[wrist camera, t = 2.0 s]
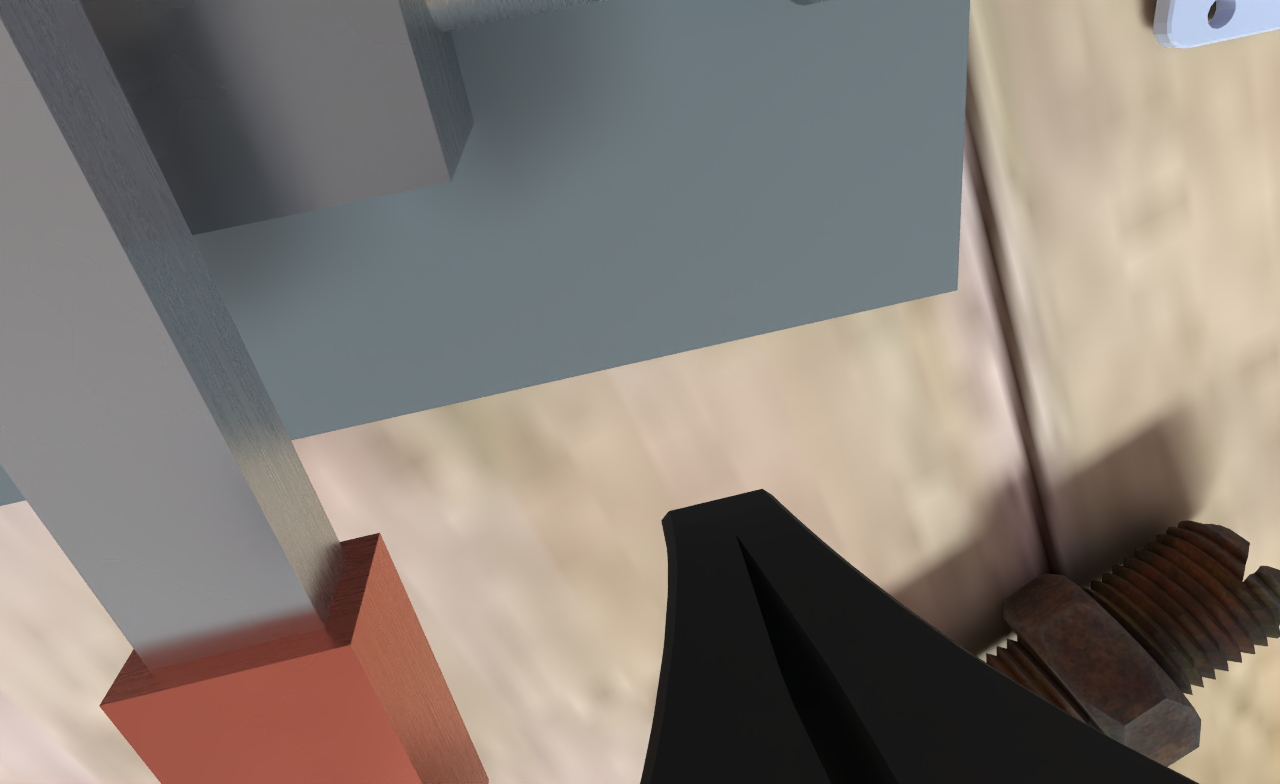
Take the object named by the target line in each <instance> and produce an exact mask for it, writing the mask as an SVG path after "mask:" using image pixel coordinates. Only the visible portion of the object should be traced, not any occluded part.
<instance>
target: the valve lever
mask: <svg viewBox="0 0 1280 784" xmlns="http://www.w3.org/2000/svg"><path fill="white" fill-rule="evenodd" d="M0 464H1V466H2V467H3V469H4V470H5V471H6V473H7V474H8V475H9V477H10V478H11V480H12V481H13V482H14V484H15V485H16V487H17V488H18V489H19V491H20V492H21V493H22V495H23V496H24V498H25V499H26V500H27V502H28V503H29V505H30V506H31V507H32V509H33V510H34V511H35V513H36V514H37V516H38V517H39V518H40V520H41V521H42V522H43V524H44V525H45V527H46V528H47V529H48V531H49V532H50V534H51V535H52V536H53V538H54V539H55V540H56V542H57V543H58V545H59V546H60V547H61V549H62V550H63V551H64V553H65V554H66V556H67V557H68V558H69V560H70V561H71V563H72V564H73V565H74V567H75V568H76V569H77V571H78V572H79V574H80V575H81V576H82V578H83V579H84V581H85V582H86V583H87V585H88V586H89V587H90V589H91V590H92V592H93V593H94V594H95V596H96V597H97V598H98V600H99V601H100V603H101V604H102V605H103V607H104V608H105V610H106V611H107V612H108V614H109V615H110V616H111V618H112V619H113V621H114V622H115V623H116V625H117V626H118V628H119V629H120V630H121V632H122V633H123V634H124V636H125V637H126V639H127V640H128V641H129V643H130V644H131V645H132V647H133V648H134V650H133V651H132V653H131V655H130V656H129V658H128V660H127V661H126V663H125V664H124V666H123V668H122V669H121V671H120V673H119V674H118V676H117V678H116V679H115V681H114V683H113V684H112V686H111V688H110V689H109V691H108V692H107V694H106V696H105V697H104V699H103V701H102V702H101V704H100V707H101V709H102V710H103V711H104V712H105V714H106V715H107V716H108V717H109V719H110V720H111V721H112V722H113V724H114V725H115V726H116V727H117V729H118V730H119V731H120V732H121V734H122V735H123V736H124V737H125V739H126V740H127V741H128V742H129V744H130V745H131V746H132V747H133V749H134V750H135V751H136V752H137V754H138V755H139V756H140V757H141V759H142V760H143V761H144V762H145V764H146V765H147V766H148V767H149V769H150V770H151V771H152V772H153V774H154V775H155V776H156V777H157V779H158V780H159V781H160V782H161V784H489V779H488V777H487V774H486V772H485V770H484V768H483V765H482V763H481V761H480V759H479V756H478V754H477V752H476V750H475V747H474V745H473V743H472V740H471V738H470V736H469V734H468V731H467V729H466V727H465V725H464V722H463V720H462V718H461V716H460V713H459V711H458V709H457V706H456V704H455V702H454V700H453V697H452V695H451V693H450V691H449V688H448V686H447V684H446V682H445V679H444V677H443V675H442V672H441V670H440V668H439V666H438V663H437V661H436V659H435V657H434V654H433V652H432V650H431V648H430V645H429V643H428V641H427V638H426V636H425V634H424V632H423V629H422V627H421V625H420V623H419V620H418V618H417V616H416V614H415V611H414V609H413V607H412V604H411V602H410V600H409V598H408V595H407V593H406V591H405V589H404V586H403V584H402V582H401V580H400V577H399V575H398V573H397V570H396V568H395V566H394V564H393V561H392V559H391V557H390V555H389V552H388V550H387V548H386V546H385V543H384V541H383V539H382V536H381V534H380V533H377V534H373V535H368V536H364V537H360V538H356V539H351V540H347V541H343V542H339V540H338V538H337V536H336V534H335V532H334V530H333V528H332V526H331V524H330V521H329V519H328V517H327V515H326V513H325V511H324V509H323V507H322V505H321V503H320V501H319V498H318V496H317V494H316V492H315V490H314V488H313V486H312V484H311V482H310V480H309V478H308V476H307V473H306V471H305V469H304V467H303V465H302V463H301V461H300V459H299V457H298V455H297V453H296V451H295V448H294V446H293V444H292V442H291V440H290V438H289V436H288V434H287V432H286V430H285V428H284V426H283V423H282V421H281V419H280V417H279V415H278V413H277V411H276V409H275V407H274V405H273V403H272V401H271V398H270V396H269V394H268V392H267V390H266V388H265V386H264V384H263V382H262V380H261V378H260V375H259V373H258V371H257V369H256V367H255V365H254V363H253V361H252V359H251V357H250V355H249V353H248V350H247V348H246V346H245V344H244V342H243V340H242V338H241V336H240V334H239V332H238V330H237V328H236V325H235V323H234V321H233V319H232V317H231V315H230V313H229V311H228V309H227V307H226V305H225V303H224V300H223V298H222V296H221V294H220V292H219V290H218V288H217V286H216V284H215V282H214V280H213V278H212V275H211V273H210V271H209V269H208V267H207V265H206V263H205V261H204V259H203V257H202V255H201V252H200V250H199V248H198V246H197V244H196V242H195V240H194V238H193V236H192V234H191V232H190V230H189V227H188V225H187V223H186V221H185V219H184V217H183V215H182V213H181V211H180V209H179V207H178V205H177V202H176V200H175V198H174V196H173V194H172V192H171V190H170V188H169V186H168V184H167V182H166V180H165V177H164V175H163V173H162V171H161V169H160V167H159V165H158V163H157V161H156V159H155V157H154V155H153V152H152V150H151V148H150V146H149V144H148V142H147V140H146V138H145V136H144V134H143V132H142V129H141V127H140V125H139V123H138V121H137V119H136V117H135V115H134V113H133V111H132V109H131V107H130V104H129V102H128V100H127V98H126V96H125V94H124V92H123V90H122V88H121V86H120V84H119V82H118V79H117V77H116V75H115V73H114V71H113V69H112V67H111V65H110V63H109V61H108V59H107V57H106V54H105V52H104V50H103V48H102V46H101V44H100V42H99V40H98V38H97V36H96V34H95V32H94V29H93V27H92V25H91V23H90V21H89V19H88V17H87V15H86V13H85V11H84V9H83V6H82V4H81V2H80V0H0Z"/></svg>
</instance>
